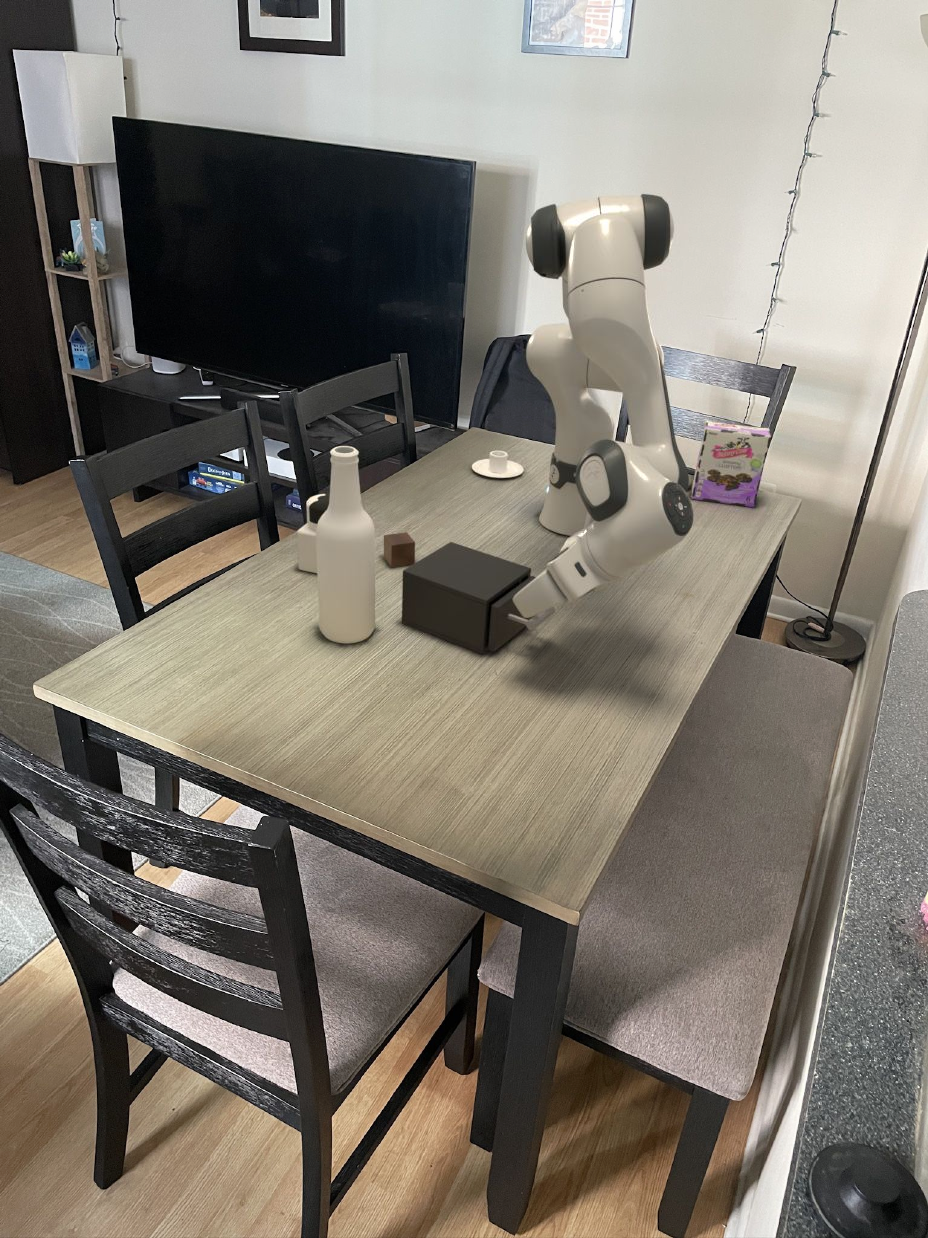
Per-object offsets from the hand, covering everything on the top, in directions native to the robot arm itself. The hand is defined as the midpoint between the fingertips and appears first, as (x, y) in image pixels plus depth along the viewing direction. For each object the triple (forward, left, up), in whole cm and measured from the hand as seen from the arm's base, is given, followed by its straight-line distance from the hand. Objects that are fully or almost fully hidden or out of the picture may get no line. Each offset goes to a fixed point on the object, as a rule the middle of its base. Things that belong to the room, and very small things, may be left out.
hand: (527, 597), depth 137 cm
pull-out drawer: (+4, -5, -7) cm, 10 cm away
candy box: (-70, -41, -9) cm, 82 cm away
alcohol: (+25, -12, -9) cm, 29 cm away
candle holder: (-28, -70, -9) cm, 76 cm away
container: (+22, -35, -9) cm, 43 cm away
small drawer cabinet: (+6, -9, -8) cm, 14 cm away
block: (+9, -33, -8) cm, 36 cm away
